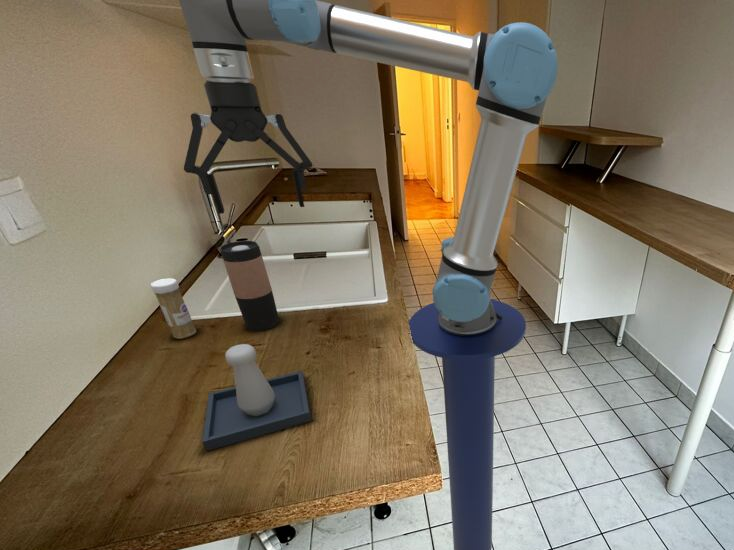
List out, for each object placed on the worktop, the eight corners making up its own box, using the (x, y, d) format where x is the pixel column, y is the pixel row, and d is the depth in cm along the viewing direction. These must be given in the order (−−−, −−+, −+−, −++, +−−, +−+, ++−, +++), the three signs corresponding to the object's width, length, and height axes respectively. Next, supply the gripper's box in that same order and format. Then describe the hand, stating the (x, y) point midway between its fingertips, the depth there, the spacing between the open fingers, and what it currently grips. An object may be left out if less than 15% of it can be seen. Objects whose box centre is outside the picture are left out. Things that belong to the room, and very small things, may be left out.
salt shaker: (248, 399, 76) (226, 340, 70) (281, 396, 77) (263, 337, 71) (236, 421, 71) (211, 359, 65) (272, 417, 72) (251, 356, 66)
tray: (304, 379, 83) (302, 370, 82) (311, 421, 73) (309, 412, 72) (212, 401, 76) (208, 392, 75) (206, 451, 66) (202, 441, 65)
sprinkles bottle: (194, 337, 95) (172, 284, 88) (170, 340, 94) (146, 287, 87) (199, 328, 99) (178, 276, 92) (176, 331, 97) (153, 278, 90)
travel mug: (238, 330, 99) (210, 250, 89) (258, 315, 105) (235, 239, 95) (268, 332, 98) (243, 252, 88) (287, 317, 104) (266, 241, 95)
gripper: (129, 77, 61) (181, 220, 71) (312, 84, 71) (334, 207, 82) (139, 77, 66) (187, 209, 77) (308, 83, 77) (329, 199, 88)
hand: (263, 208), depth 79 cm, fingers open, 13 cm apart
